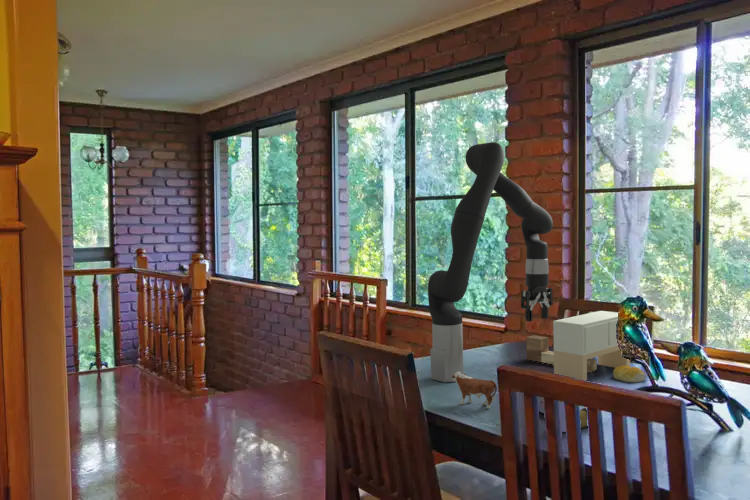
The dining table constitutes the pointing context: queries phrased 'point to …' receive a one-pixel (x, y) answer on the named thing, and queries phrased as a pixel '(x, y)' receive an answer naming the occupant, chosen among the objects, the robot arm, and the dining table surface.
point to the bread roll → (628, 374)
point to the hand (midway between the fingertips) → (537, 319)
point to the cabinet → (586, 343)
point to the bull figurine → (475, 388)
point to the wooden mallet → (548, 352)
